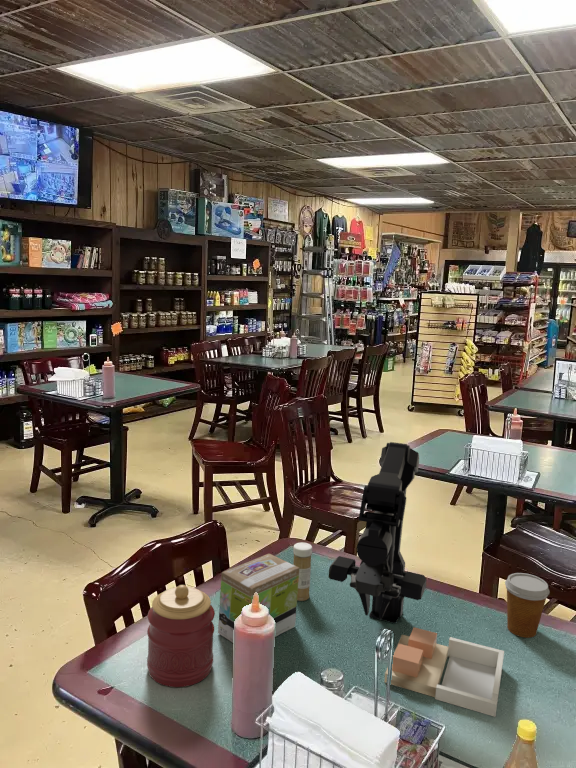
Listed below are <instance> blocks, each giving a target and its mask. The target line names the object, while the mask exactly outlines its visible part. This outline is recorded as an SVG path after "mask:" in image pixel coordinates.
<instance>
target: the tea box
mask: <svg viewBox="0 0 576 768" xmlns="http://www.w3.org/2000/svg"><path fill="white" fill-rule="evenodd" d="M220 576H221V578H220V590H219V591H220V592H219V605H218V606H219V609H218V622H217V623H218V625H217V634H219V635H220V636H222V637H223V638H225V639H226V640H228V641H229V642H230V643H233V630H234V621H235V619H236V618H237V617H238V616H239V615H240V614H241V611H242V608H243V607H244V606H246V605H249V604H251V603H252V599H253V595H254V593H255V592H257V593H258V595H259V602H260V604H262V605H264V606H266V607H267V608H268V609H269V614H270V615H271V616H272V617H273V618H274V620H275V622H276V636H275V637H274V638H276V637H277V636H279V635H281V634H283V633H286V632H287V631H289V630H291V629H293V628H295V626H296V619H297V607H298V606H297V605H298V600H297V594H298V581H299V567H297V566H295V565H293V564H292V563H290V562H288V561H286V560H284V559H282V558H280V557H277V556H276V555H273V554H271V553H267V554H264V555H262V556H259V557H256V558H254V559H252V560H250V561H247V562H245V563H242V564H240V565H237V566H235V567H232V568H230V569H227V570H224V571H222V572H221V575H220ZM233 644H234V643H233Z"/></svg>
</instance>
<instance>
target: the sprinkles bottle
mask: <svg viewBox="0 0 576 768" xmlns="http://www.w3.org/2000/svg"><path fill="white" fill-rule="evenodd" d="M292 553H293V562H292V563H293V564H292V565H295V566H297V567H299V581H298V594H297V602H298V601H299V602H304V601H307V600H308V599H309V598H310V586H311V574H312V573H311V572H312V571H311V570H312V554H313V546H312V544H310V543H307V542H296V543H294V545H293V552H292Z"/></svg>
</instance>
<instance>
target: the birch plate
mask: <svg viewBox="0 0 576 768" xmlns="http://www.w3.org/2000/svg"><path fill="white" fill-rule="evenodd" d="M409 637H410V635H409V636H408V635H406V634H405V635H404V634H401V635H400V638H399V641H398V642H397V644H396V648H395V650H394V653H395V651H396V649H397V647H398V644H403V645H406V646H408V642H409ZM394 653H393V654H394ZM393 654H392V656H394V655H393ZM447 656H448V646H447V645H444V644H443V645H442V644H439V643H436V648H435V651H434V654H433V657H432V659H430V658H427V657H423V659H422V665H421V668H420V671H419V674H418V676H417V677H413V676H410V675H406V674H403V673H399V672H396V671H392V680H391V684H390V685H391V686H392V685H393V686H395V687H399V688H402V689H405V690H409V691H413V692H416V693H420V694H423V695H427V696H428V697H433V698H435V695H436V686H437V684H438V685H441V680H442V678H443V677H442V676H443V672H444V671H445V670H444V669H445V667H446V663H447V659H448V657H447ZM387 675H388V667H387V668H386V671H384V684H387V683H386V682H387Z"/></svg>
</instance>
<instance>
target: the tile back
mask: <svg viewBox="0 0 576 768" xmlns="http://www.w3.org/2000/svg"><path fill="white" fill-rule="evenodd" d="M437 639H438V632H434V631H430V630H427V629H422V628H419V627H415V626H413V627H412V631H411V633H410V635H409V642H408V646H410V647H414V648H417V649H421V650H423V657H427V658H430V659H432V657H433V654H434V651H435V648H436V644H437V641H438V640H437Z"/></svg>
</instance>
